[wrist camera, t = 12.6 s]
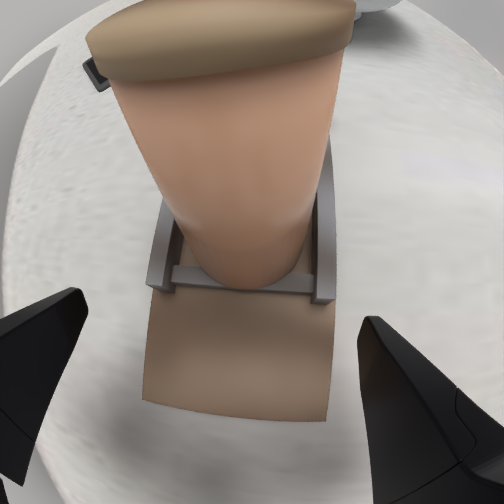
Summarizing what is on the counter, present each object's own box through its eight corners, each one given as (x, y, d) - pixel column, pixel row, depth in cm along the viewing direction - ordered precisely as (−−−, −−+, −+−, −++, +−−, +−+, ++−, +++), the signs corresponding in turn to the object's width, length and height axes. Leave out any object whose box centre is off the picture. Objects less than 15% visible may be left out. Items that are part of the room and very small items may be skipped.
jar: (292, 305, 14) (366, 42, 3) (174, 274, 15) (34, 69, 4) (314, 201, 17) (351, -11, 5) (213, 182, 18) (168, -12, 6)
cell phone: (100, 95, 25) (98, 91, 24) (82, 66, 29) (81, 63, 28) (151, 64, 26) (150, 60, 26) (122, 42, 30) (120, 39, 29)
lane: (323, 417, 14) (348, 451, 8) (147, 397, 15) (98, 415, 9) (324, 113, 21) (334, 61, 15) (198, 110, 22) (184, 60, 16)
